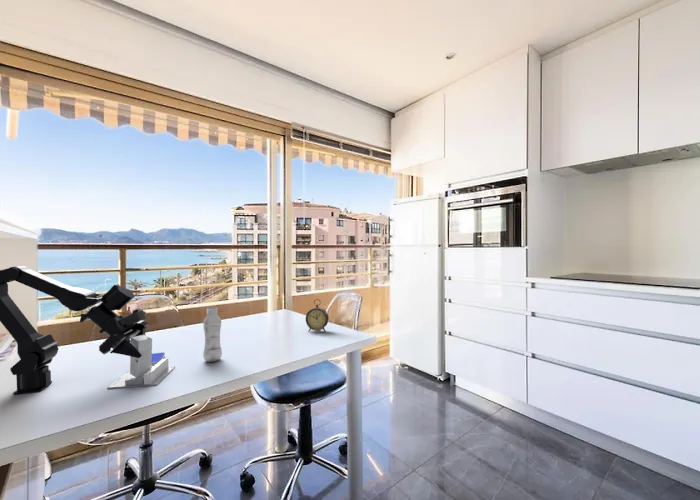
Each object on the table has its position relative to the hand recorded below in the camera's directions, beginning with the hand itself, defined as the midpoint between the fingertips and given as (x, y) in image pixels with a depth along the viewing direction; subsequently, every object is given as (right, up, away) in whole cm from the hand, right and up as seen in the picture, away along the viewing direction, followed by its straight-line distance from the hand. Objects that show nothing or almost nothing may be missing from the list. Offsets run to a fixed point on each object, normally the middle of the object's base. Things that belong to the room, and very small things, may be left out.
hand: (145, 352), depth 101 cm
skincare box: (-1, -7, 0) cm, 7 cm away
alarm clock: (+51, -7, +53) cm, 74 cm away
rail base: (-1, -8, 0) cm, 9 cm away
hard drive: (-7, -8, +13) cm, 17 cm away
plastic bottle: (+15, -8, +15) cm, 23 cm away
